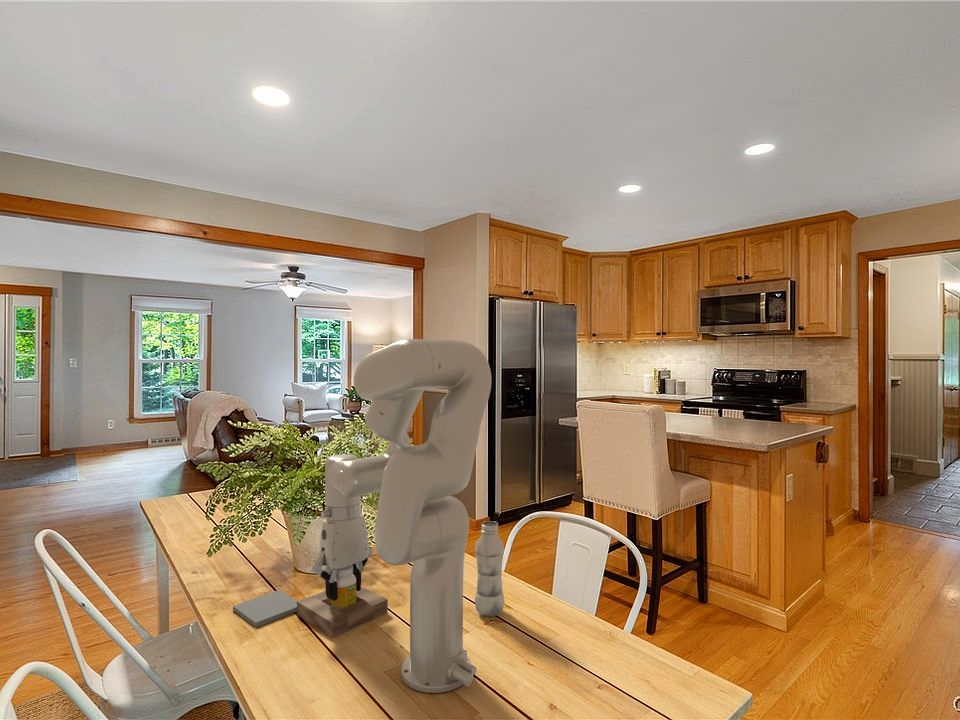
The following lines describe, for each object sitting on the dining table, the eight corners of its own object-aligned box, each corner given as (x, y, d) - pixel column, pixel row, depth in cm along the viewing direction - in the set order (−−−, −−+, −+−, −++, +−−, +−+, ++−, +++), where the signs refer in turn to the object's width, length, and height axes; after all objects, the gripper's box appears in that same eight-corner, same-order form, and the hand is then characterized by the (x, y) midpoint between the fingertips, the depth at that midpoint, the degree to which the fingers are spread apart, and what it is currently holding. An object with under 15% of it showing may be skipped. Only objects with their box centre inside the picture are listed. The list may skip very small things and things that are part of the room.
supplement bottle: (349, 618, 113) (349, 572, 113) (326, 616, 114) (326, 571, 114) (360, 606, 118) (360, 563, 118) (338, 604, 119) (337, 561, 119)
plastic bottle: (510, 612, 117) (510, 523, 117) (490, 624, 113) (490, 530, 112) (488, 603, 122) (489, 517, 122) (468, 613, 117) (468, 523, 117)
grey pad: (303, 608, 119) (303, 604, 119) (255, 627, 111) (255, 622, 111) (279, 594, 126) (279, 589, 126) (232, 610, 118) (232, 606, 118)
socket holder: (387, 612, 117) (387, 599, 117) (332, 637, 107) (332, 623, 107) (350, 593, 127) (350, 581, 127) (296, 615, 116) (296, 601, 116)
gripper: (317, 524, 107) (318, 613, 107) (384, 506, 120) (385, 586, 120) (298, 517, 112) (299, 602, 112) (365, 500, 125) (365, 577, 125)
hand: (343, 593), depth 116 cm, fingers closed on supplement bottle, 5 cm apart
